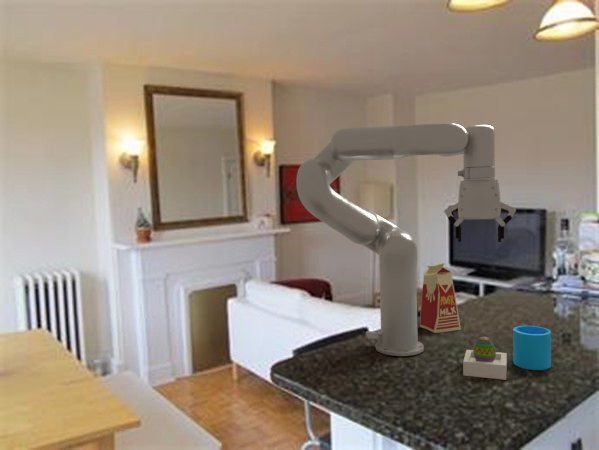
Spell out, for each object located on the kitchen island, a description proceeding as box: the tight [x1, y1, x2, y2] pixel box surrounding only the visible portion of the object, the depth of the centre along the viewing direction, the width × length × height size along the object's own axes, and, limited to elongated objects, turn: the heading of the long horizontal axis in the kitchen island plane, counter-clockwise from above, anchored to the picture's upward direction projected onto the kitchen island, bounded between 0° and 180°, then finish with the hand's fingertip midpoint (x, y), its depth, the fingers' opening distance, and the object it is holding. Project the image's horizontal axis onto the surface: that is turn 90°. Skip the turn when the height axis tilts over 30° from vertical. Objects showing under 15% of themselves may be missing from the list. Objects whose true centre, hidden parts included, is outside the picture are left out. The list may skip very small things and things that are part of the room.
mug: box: [512, 325, 552, 371], centre depth 125 cm, size 12×8×8 cm
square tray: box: [462, 349, 508, 381], centre depth 120 cm, size 9×9×3 cm
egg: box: [472, 336, 496, 362], centre depth 119 cm, size 5×5×6 cm
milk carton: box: [419, 263, 462, 334], centre depth 156 cm, size 9×9×20 cm
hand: (479, 241), depth 133 cm, fingers open, 9 cm apart
